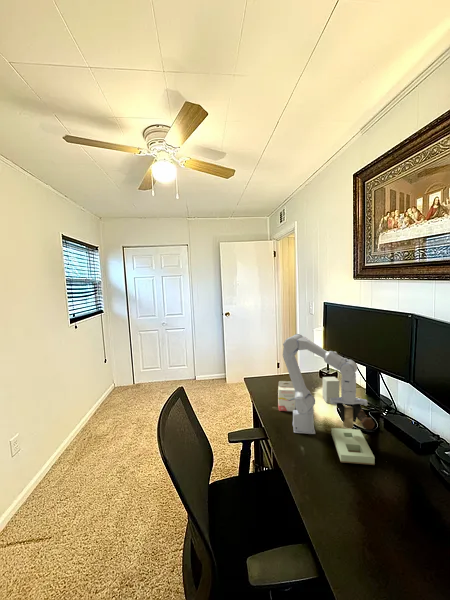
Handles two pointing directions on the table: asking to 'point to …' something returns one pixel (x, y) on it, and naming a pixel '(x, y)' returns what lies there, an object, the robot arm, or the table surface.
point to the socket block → (352, 446)
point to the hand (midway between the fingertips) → (348, 420)
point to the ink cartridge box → (286, 396)
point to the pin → (348, 417)
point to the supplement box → (330, 388)
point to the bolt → (365, 420)
